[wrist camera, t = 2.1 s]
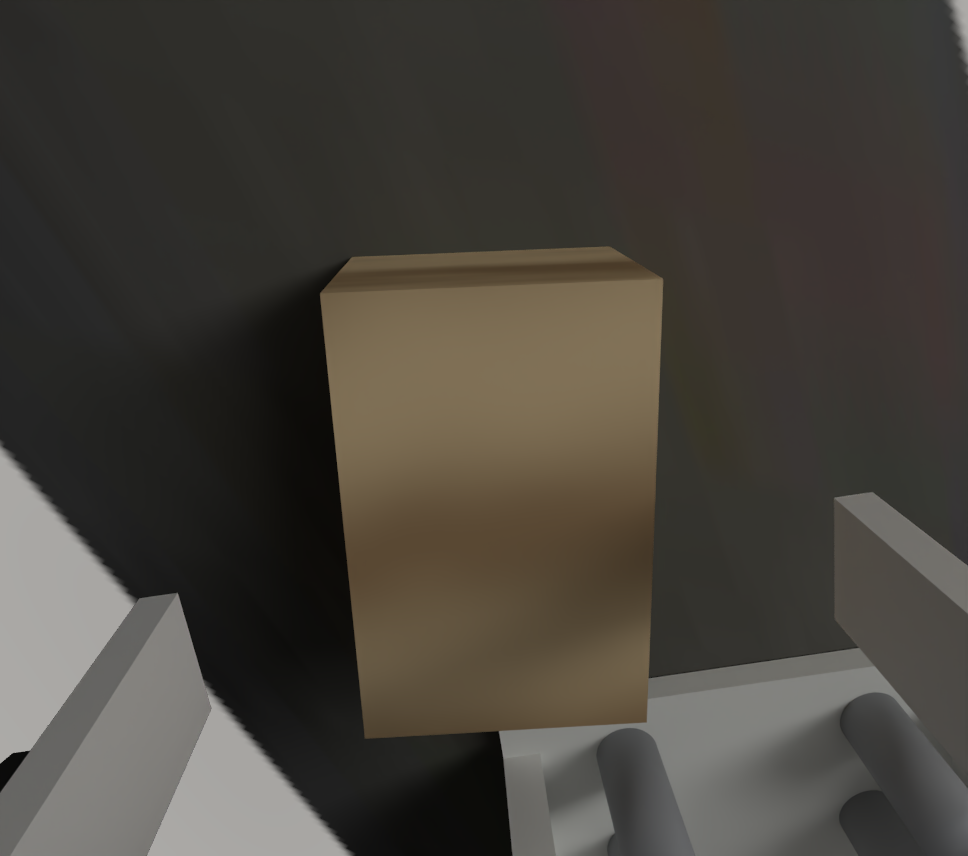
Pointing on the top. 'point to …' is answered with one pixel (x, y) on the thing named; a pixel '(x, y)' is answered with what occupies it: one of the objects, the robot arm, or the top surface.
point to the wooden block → (497, 484)
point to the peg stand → (743, 771)
